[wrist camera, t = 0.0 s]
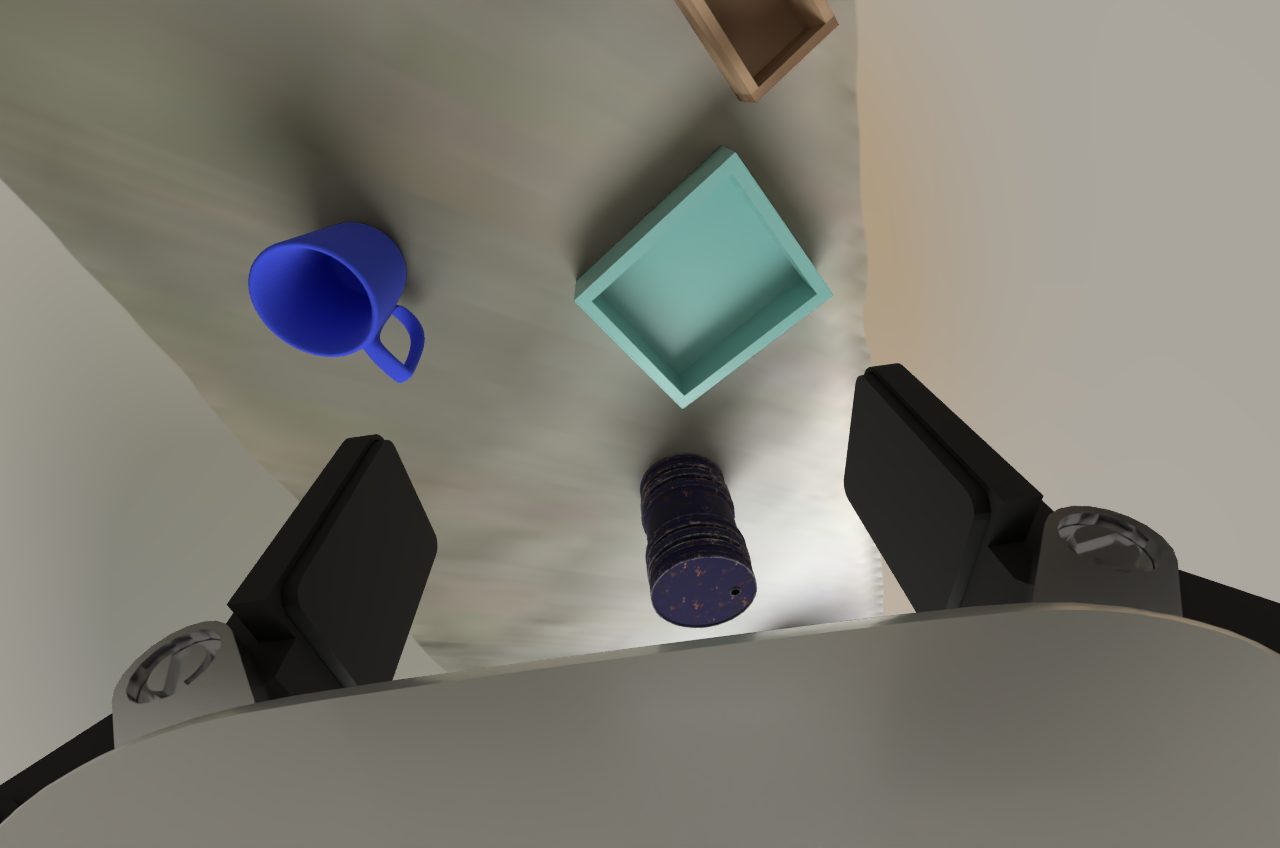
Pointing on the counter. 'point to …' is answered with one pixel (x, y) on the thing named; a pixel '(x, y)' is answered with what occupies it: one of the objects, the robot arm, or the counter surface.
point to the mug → (336, 294)
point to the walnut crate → (758, 37)
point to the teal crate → (702, 280)
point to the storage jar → (694, 544)
